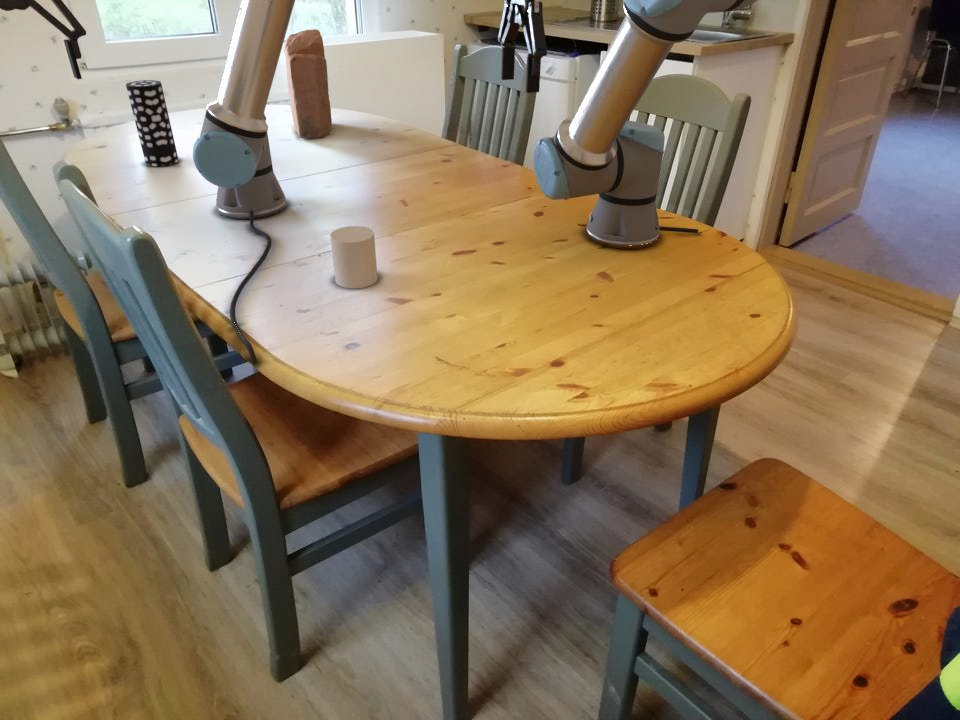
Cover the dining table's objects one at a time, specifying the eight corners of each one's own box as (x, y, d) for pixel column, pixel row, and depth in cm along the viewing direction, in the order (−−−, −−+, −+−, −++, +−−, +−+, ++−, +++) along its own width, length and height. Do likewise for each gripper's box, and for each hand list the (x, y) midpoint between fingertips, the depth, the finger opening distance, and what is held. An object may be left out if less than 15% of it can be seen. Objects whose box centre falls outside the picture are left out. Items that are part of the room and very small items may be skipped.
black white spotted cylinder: (184, 157, 190) (167, 80, 179) (169, 166, 183) (151, 87, 172) (155, 156, 190) (136, 79, 179) (139, 165, 183) (119, 86, 172)
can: (358, 292, 123) (353, 245, 118) (326, 281, 127) (321, 235, 122) (386, 277, 129) (382, 231, 124) (355, 266, 132) (350, 222, 127)
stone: (337, 137, 208) (326, 34, 194) (299, 140, 205) (285, 36, 191) (327, 123, 225) (317, 28, 211) (292, 125, 222) (279, 29, 208)
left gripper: (-94, -50, 107) (-40, 94, 118) (81, -52, 120) (115, 77, 131) (-98, -52, 111) (-45, 86, 123) (71, -54, 125) (104, 71, 136)
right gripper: (484, -33, 143) (482, 75, 155) (532, -25, 124) (526, 99, 135) (517, -34, 145) (513, 73, 157) (569, -25, 126) (561, 96, 137)
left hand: (38, 82), depth 127 cm, fingers open, 13 cm apart
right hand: (519, 85), depth 146 cm, fingers open, 13 cm apart
